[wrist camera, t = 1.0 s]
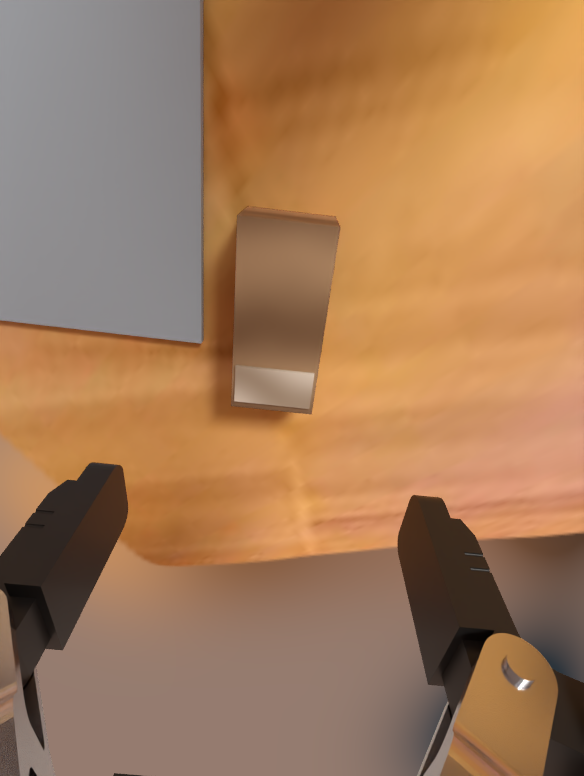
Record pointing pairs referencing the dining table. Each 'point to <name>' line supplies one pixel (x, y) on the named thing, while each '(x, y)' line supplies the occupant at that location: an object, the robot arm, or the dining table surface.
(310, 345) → the brown rectangular block
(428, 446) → the dining table surface
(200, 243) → the slate mat
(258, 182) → the dining table surface
